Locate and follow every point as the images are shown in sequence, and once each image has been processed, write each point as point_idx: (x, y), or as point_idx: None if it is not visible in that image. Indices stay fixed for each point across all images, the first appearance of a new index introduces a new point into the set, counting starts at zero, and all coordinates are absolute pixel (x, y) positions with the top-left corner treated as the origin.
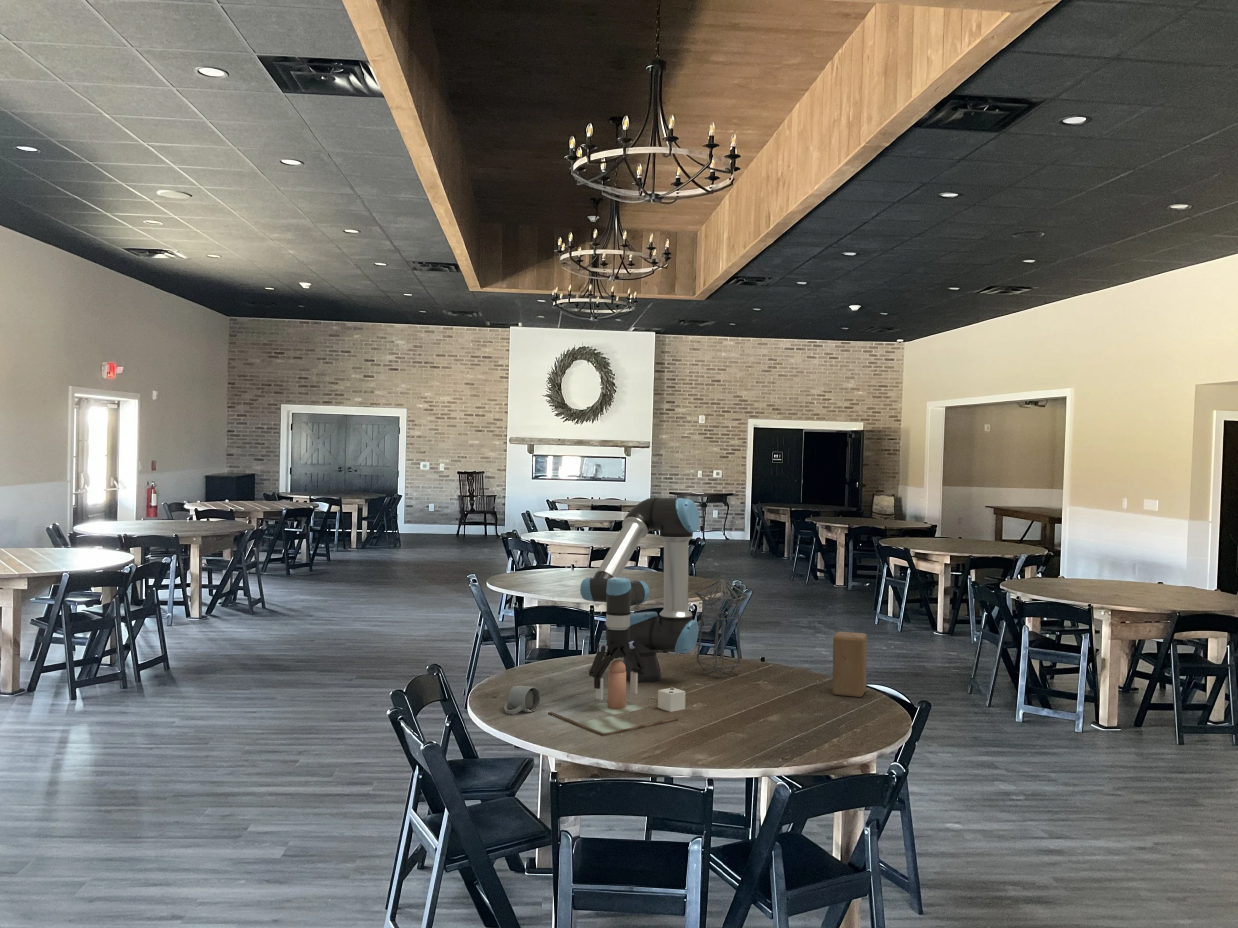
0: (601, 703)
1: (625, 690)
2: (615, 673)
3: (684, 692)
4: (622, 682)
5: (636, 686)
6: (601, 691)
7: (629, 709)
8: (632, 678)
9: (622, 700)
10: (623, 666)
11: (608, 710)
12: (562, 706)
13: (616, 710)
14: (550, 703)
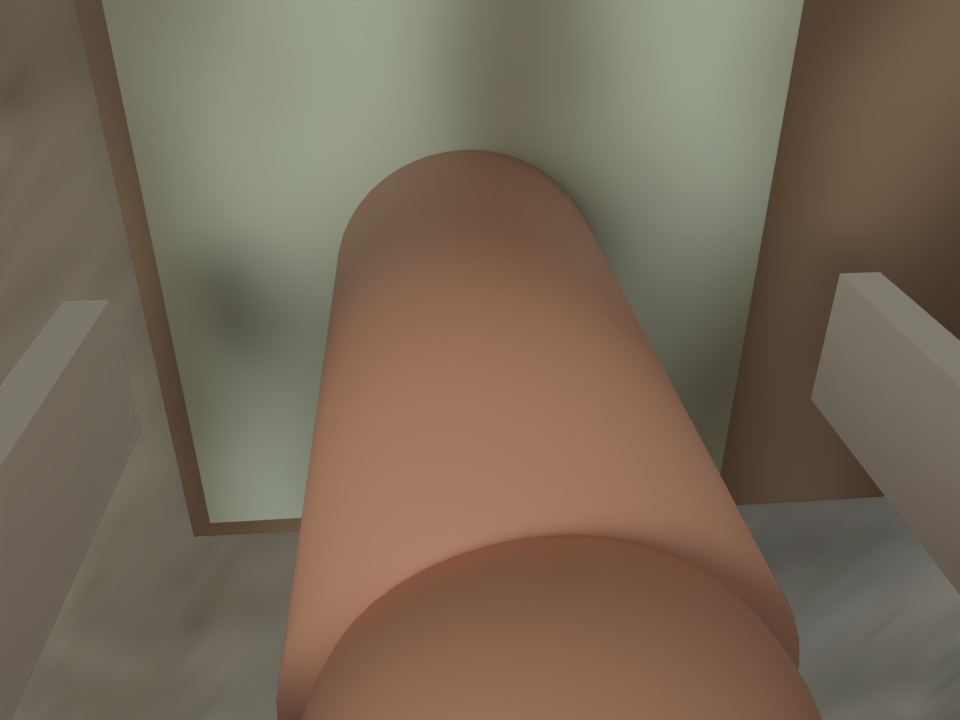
0: None
1: (391, 286)
2: (760, 564)
3: None
4: (519, 347)
5: (42, 368)
6: (948, 340)
7: (395, 51)
8: (38, 561)
9: (475, 190)
10: (518, 717)
11: (688, 183)
12: (872, 607)
13: (599, 118)
14: (867, 716)
